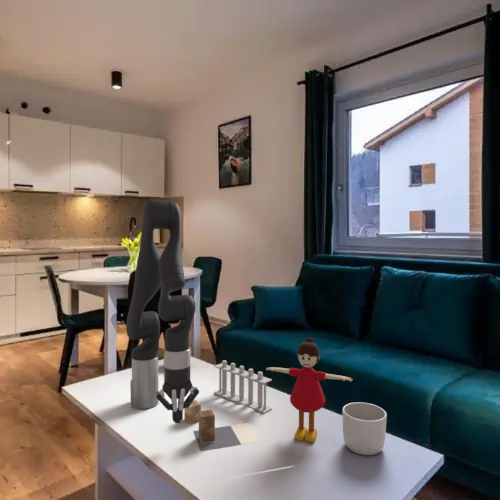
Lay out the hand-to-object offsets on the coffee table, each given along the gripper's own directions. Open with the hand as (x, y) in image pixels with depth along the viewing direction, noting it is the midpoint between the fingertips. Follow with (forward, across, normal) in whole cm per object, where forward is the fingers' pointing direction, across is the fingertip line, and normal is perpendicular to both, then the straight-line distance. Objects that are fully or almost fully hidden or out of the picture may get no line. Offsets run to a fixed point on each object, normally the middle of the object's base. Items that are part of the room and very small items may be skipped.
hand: (177, 421), depth 123 cm
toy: (+7, +39, -6) cm, 40 cm away
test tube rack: (+7, +27, +23) cm, 36 cm away
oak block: (+7, +7, +14) cm, 17 cm away
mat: (+7, +15, 0) cm, 16 cm away
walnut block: (+7, +9, 0) cm, 11 cm away
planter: (+7, +51, -17) cm, 55 cm away
